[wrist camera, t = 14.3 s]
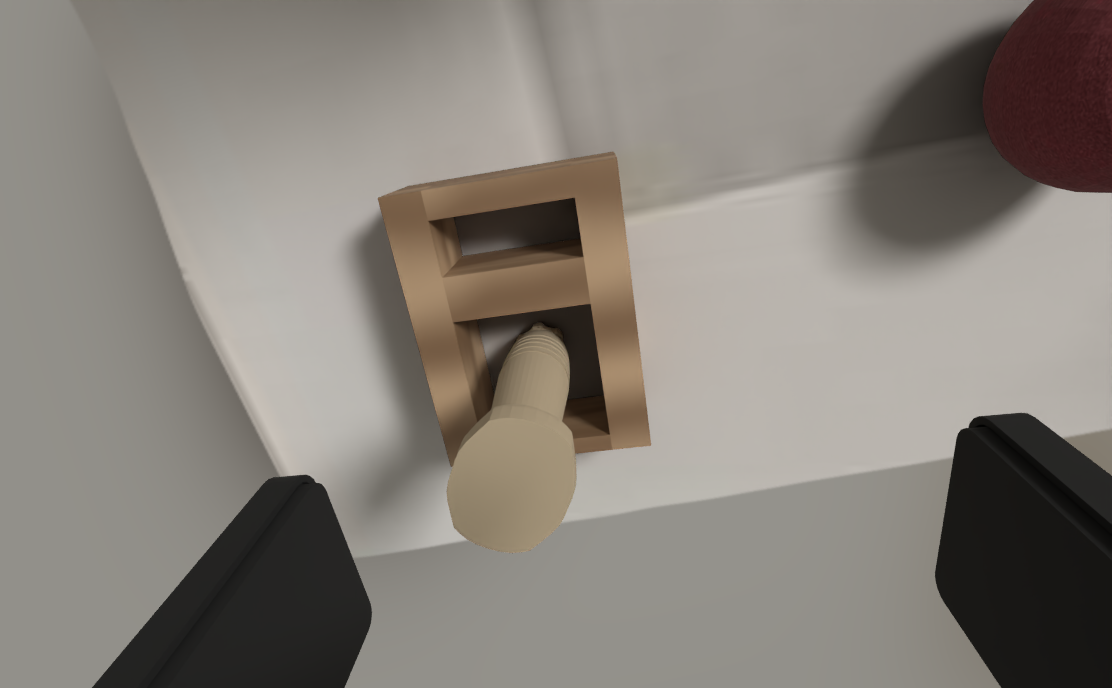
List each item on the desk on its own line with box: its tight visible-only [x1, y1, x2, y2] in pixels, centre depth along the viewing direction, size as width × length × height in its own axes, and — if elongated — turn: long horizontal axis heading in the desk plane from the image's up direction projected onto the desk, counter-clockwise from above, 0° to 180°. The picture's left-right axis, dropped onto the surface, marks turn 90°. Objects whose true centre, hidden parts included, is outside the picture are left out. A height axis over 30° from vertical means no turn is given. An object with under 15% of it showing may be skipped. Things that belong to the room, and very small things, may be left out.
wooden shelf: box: [378, 152, 651, 467], centre depth 33 cm, size 16×12×5 cm
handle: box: [447, 322, 576, 553], centre depth 29 cm, size 5×6×15 cm
